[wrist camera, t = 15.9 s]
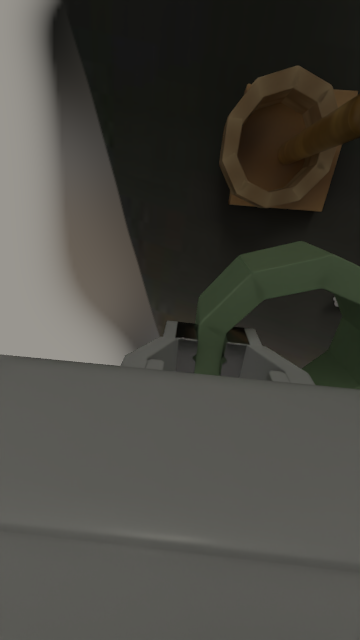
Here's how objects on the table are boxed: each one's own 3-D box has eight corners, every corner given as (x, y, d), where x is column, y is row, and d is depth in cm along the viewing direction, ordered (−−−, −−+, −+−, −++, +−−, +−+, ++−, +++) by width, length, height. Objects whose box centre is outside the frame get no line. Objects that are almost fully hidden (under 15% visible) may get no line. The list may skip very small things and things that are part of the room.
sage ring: (205, 232, 11) (208, 244, 9) (397, 249, 11) (462, 266, 8) (188, 384, 15) (186, 424, 13) (327, 398, 15) (354, 440, 13)
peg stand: (244, 90, 21) (311, -63, 9) (348, 97, 21) (567, -51, 9) (228, 204, 25) (258, 208, 13) (315, 211, 25) (431, 222, 13)
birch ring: (230, 78, 20) (236, 59, 17) (338, 88, 20) (361, 71, 17) (213, 202, 24) (215, 202, 21) (302, 211, 24) (316, 213, 21)
